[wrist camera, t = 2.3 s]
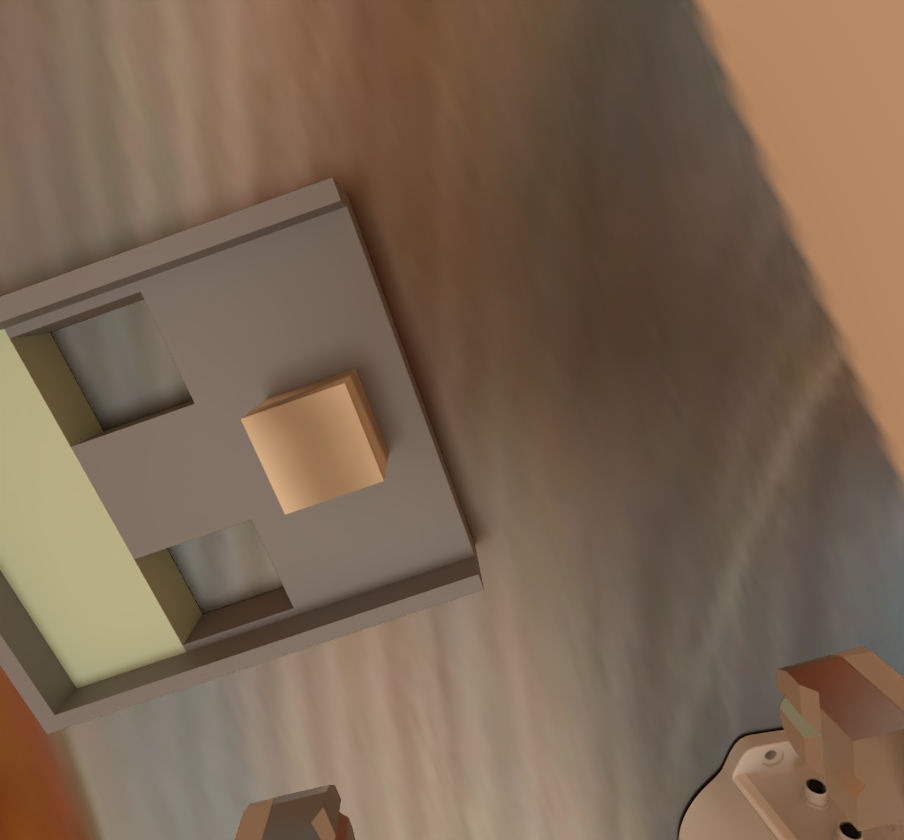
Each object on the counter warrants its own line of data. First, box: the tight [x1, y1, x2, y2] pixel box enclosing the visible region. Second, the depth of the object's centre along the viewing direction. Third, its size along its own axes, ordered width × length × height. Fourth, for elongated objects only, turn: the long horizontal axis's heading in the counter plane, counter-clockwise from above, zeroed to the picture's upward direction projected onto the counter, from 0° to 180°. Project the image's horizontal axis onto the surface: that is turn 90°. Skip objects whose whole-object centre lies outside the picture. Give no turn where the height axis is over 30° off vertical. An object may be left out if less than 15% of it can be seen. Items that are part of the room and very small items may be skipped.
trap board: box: [0, 177, 484, 734], centre depth 29 cm, size 26×22×5 cm
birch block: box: [241, 369, 389, 515], centre depth 27 cm, size 5×5×4 cm
